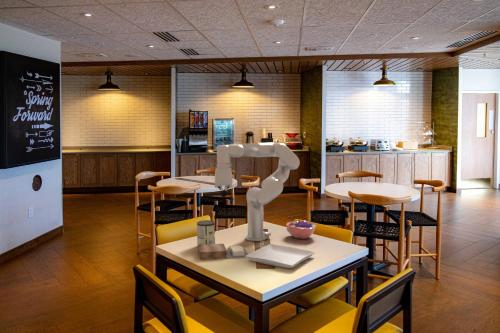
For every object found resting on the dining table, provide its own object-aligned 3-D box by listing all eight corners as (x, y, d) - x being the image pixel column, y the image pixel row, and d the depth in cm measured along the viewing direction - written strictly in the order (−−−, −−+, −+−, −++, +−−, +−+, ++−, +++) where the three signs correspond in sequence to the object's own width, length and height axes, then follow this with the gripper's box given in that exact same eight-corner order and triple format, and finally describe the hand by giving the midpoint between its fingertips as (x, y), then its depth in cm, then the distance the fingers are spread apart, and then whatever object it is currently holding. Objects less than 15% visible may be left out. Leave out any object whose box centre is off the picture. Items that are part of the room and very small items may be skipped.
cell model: (301, 232, 278) (301, 215, 276) (321, 239, 261) (322, 221, 259) (280, 235, 269) (280, 218, 268) (299, 243, 252) (299, 224, 251)
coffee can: (202, 243, 252) (202, 219, 251) (218, 245, 248) (218, 221, 247) (193, 247, 243) (193, 223, 242) (209, 249, 239) (209, 225, 237)
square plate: (292, 272, 203) (292, 264, 203) (244, 262, 218) (244, 255, 217) (315, 257, 226) (315, 250, 226) (270, 249, 241) (270, 242, 240)
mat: (244, 249, 240) (244, 248, 240) (249, 257, 225) (249, 256, 225) (225, 250, 238) (225, 249, 238) (228, 258, 223) (228, 258, 223)
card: (230, 246, 235) (230, 251, 235) (233, 251, 226) (233, 256, 226) (241, 246, 236) (241, 250, 236) (244, 251, 227) (244, 255, 228)
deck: (223, 250, 237) (223, 243, 237) (226, 258, 224) (226, 250, 223) (198, 251, 235) (198, 244, 234) (199, 259, 221) (199, 252, 221)
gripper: (235, 165, 254) (235, 195, 256) (210, 165, 251) (210, 196, 253) (237, 166, 246) (237, 198, 248) (211, 167, 244) (211, 198, 246)
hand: (223, 197), depth 251 cm, fingers closed
